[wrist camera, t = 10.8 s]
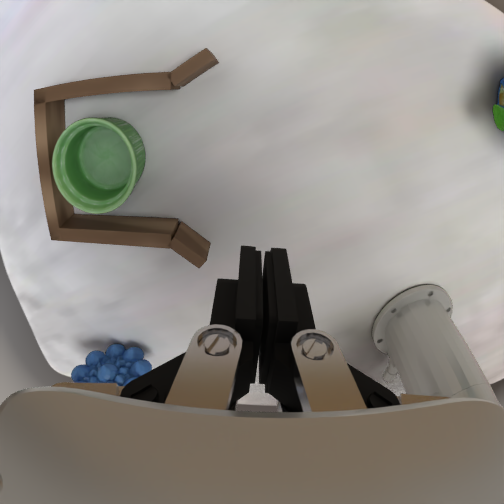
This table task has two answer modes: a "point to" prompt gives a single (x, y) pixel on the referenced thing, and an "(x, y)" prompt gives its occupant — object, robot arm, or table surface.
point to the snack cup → (499, 107)
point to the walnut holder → (105, 226)
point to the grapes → (112, 366)
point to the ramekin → (98, 163)
